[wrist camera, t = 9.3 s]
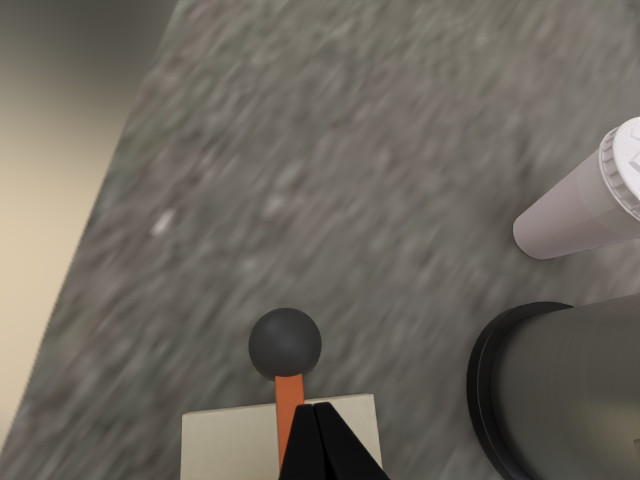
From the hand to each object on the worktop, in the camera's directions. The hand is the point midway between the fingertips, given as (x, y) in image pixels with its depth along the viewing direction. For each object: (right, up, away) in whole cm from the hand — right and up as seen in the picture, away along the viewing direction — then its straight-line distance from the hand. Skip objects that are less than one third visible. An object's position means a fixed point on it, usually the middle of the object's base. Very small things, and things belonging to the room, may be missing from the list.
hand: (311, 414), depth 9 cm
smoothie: (+16, +5, +18) cm, 25 cm away
